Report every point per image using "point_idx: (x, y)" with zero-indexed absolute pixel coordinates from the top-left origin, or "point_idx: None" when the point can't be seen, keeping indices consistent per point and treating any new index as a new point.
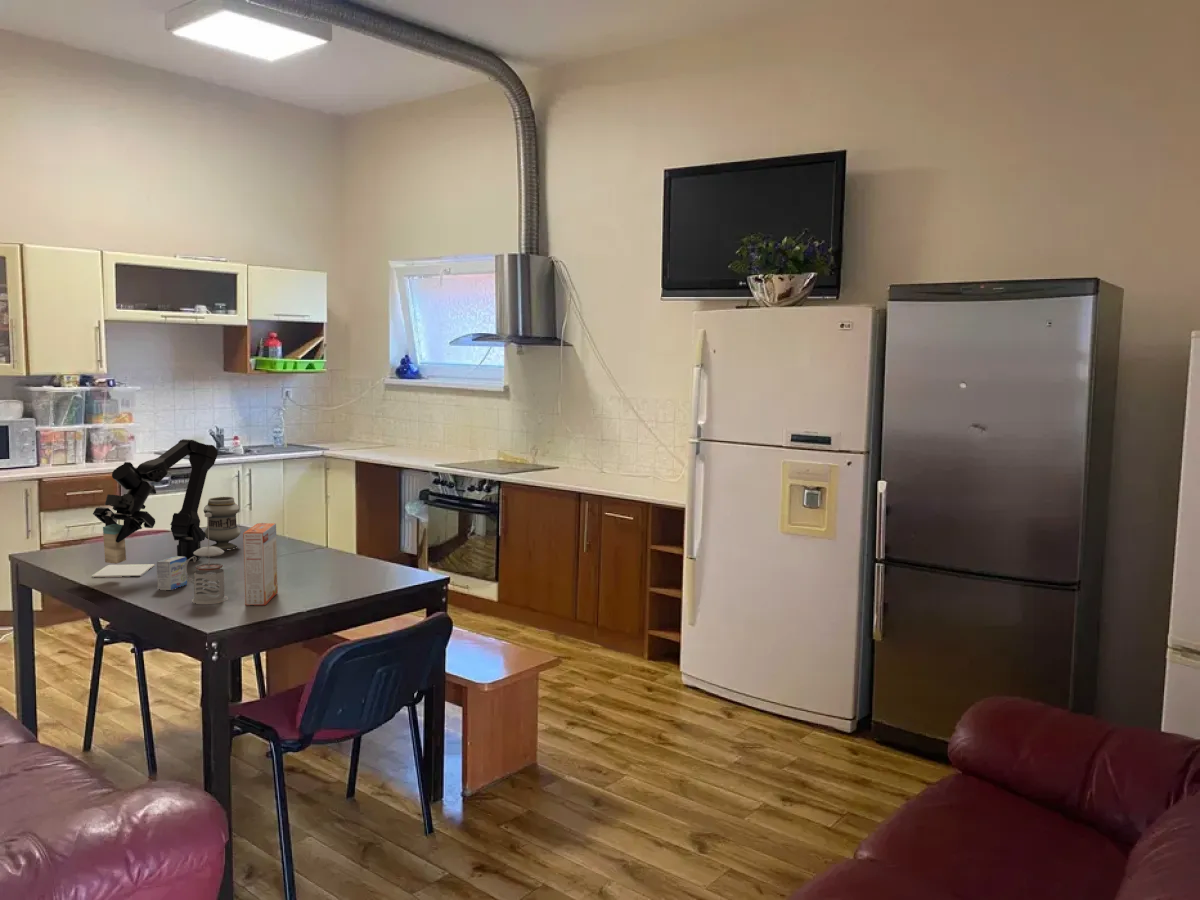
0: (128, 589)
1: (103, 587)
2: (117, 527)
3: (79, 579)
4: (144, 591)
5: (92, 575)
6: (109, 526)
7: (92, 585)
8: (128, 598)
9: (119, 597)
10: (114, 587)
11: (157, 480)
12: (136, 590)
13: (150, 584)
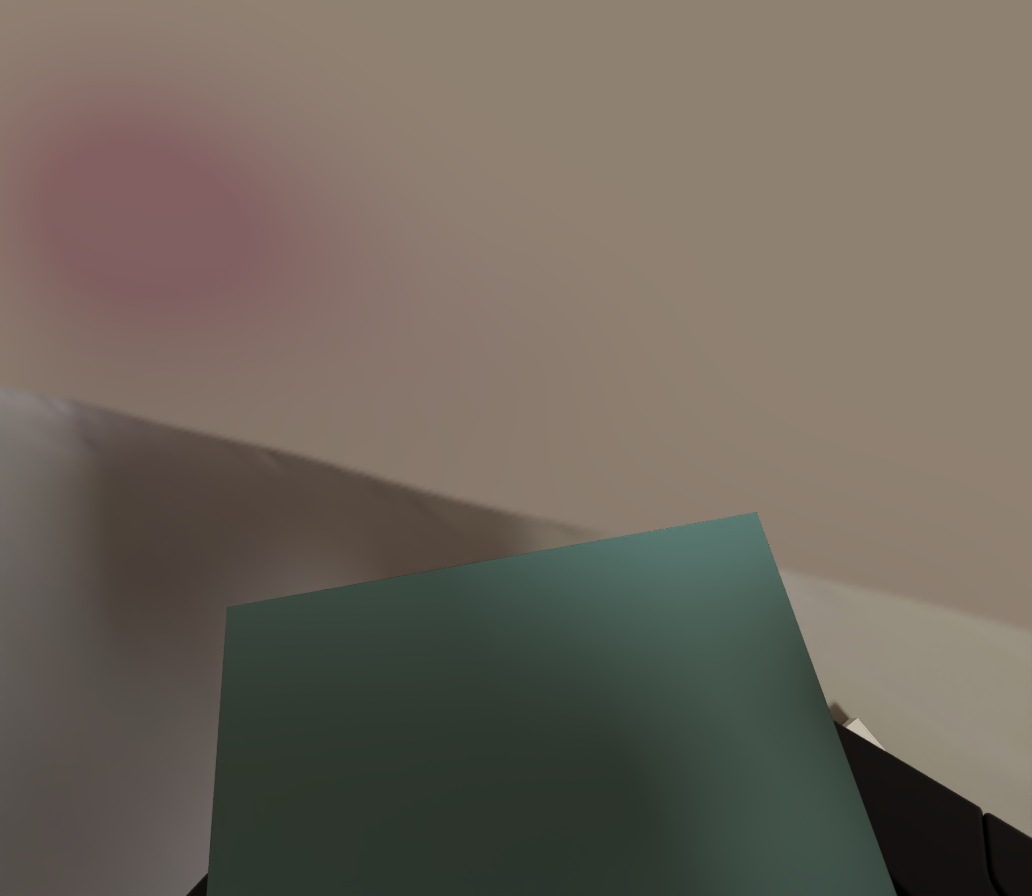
0: (187, 588)
1: (420, 530)
2: (227, 830)
3: (866, 611)
4: (23, 610)
5: (863, 733)
6: (614, 712)
7: (555, 527)
8: (23, 422)
9: (97, 409)
10: (340, 575)
11: None
12: (105, 599)
13: (119, 828)
